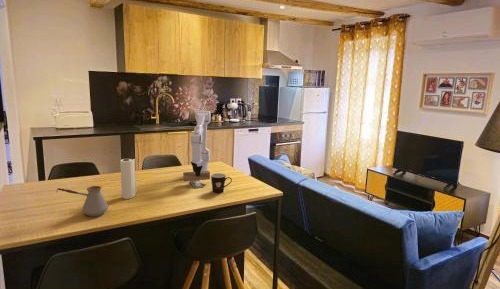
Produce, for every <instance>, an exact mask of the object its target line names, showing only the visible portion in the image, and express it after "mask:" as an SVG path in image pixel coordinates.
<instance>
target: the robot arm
mask: <svg viewBox="0 0 500 289" xmlns="http://www.w3.org/2000/svg"><path fill="white" fill-rule="evenodd" d="M194 112H195V113H194V118H195V120H196V126H194V129H193V132H192V134H191V135H190V144H191V161H190V164H191V166H192V172H195V174H196V177H197V176H200V172H201V171H209V166H208V165H209V164H208V163H209V162H210V161H211V150H210V149H209V148H207V138H208V137H207V136H208V131H207V130H208V124H210V123H211V119H212V118H211V117H212V116H211V115H212V112H211V111H210V110H196V111H194Z"/></svg>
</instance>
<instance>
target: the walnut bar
mask: <svg viewBox="0 0 500 289" xmlns="http://www.w3.org/2000/svg"><path fill="white" fill-rule="evenodd" d="M182 174H183V178H182V179H183V181H184V182H190V181H195V180H200V181H205V180H207V181H208V180H210V179H211V171H209V170H208V171H201V172H200V176H197V177H196V174H195V172H193V171H186V172H184V171H183V173H182Z"/></svg>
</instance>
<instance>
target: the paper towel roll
mask: <svg viewBox="0 0 500 289" xmlns="http://www.w3.org/2000/svg"><path fill="white" fill-rule="evenodd" d="M119 162H120V164H119V165H120V179H121V180H120V184H121V186H120V187H121V198H122V199H125V200H128V199H132V198H134V197H135V196H136V195H137V182H136V181H137V180H136V158H133V159H132V158H123V159H120V161H119Z"/></svg>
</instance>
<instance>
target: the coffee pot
mask: <svg viewBox="0 0 500 289" xmlns="http://www.w3.org/2000/svg"><path fill="white" fill-rule="evenodd" d="M101 189H102V186H100V185H92V186H88V187H87V188H86V191H87V193H85V192H79V191H75V190H72V189H65V188H61V187H58V188H57V189H56V192H55V193H58V191H61V192H66V193H69V194H75V195H76V194H77V195H82V196H85V197H86V198H85V201H84V203H83V206H82V209H81V211H82V212H83V214H85V215H86V216H88V217H99V216H102V215H103V214H105V212H107V210H108V209H109V205H108V202H107V201H106V199H105V197H104V196H103V194H102V192H101Z"/></svg>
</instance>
